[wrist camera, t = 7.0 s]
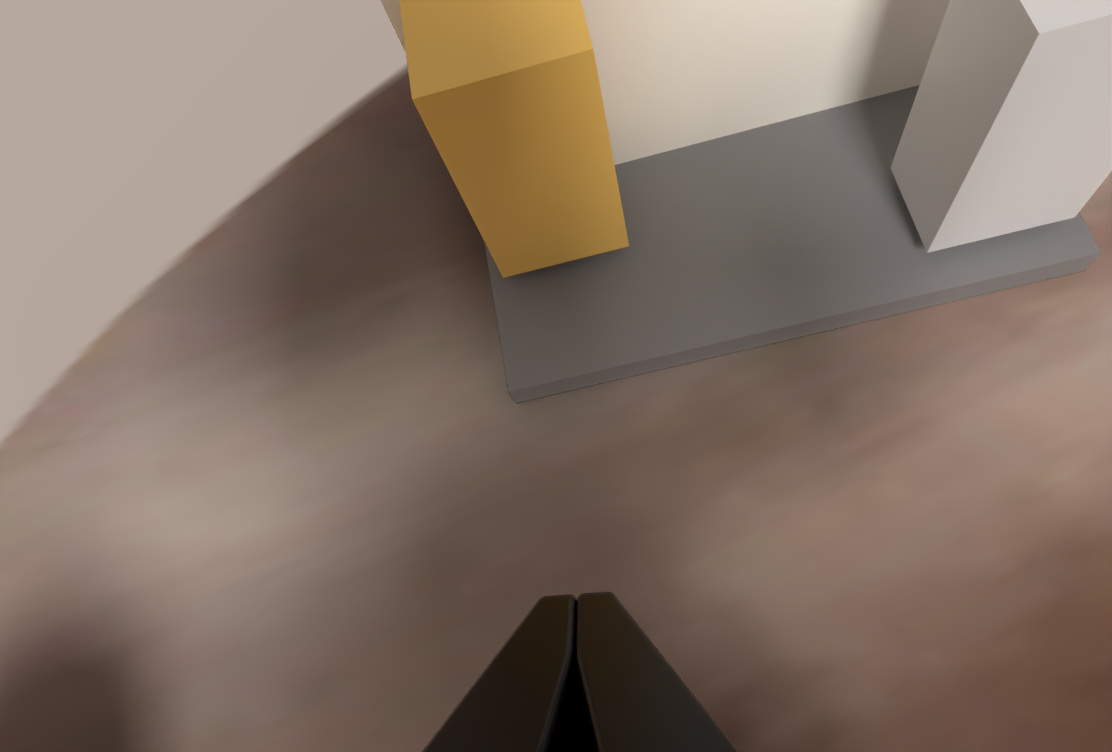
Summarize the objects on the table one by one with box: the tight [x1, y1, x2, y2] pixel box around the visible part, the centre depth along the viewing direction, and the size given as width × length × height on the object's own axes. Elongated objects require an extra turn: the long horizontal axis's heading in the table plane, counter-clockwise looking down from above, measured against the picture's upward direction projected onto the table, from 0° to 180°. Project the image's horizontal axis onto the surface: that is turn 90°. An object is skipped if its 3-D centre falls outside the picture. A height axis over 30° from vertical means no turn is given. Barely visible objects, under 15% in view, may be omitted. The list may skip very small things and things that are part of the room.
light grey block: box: [891, 0, 1112, 253], centre depth 18 cm, size 3×4×8 cm
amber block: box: [399, 0, 629, 278], centre depth 21 cm, size 3×4×8 cm
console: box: [381, 0, 1101, 403], centre depth 20 cm, size 11×17×12 cm, turn 100°
